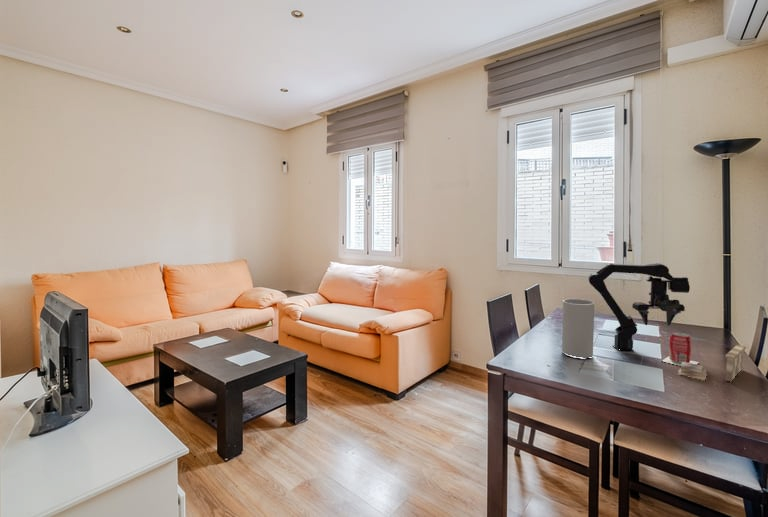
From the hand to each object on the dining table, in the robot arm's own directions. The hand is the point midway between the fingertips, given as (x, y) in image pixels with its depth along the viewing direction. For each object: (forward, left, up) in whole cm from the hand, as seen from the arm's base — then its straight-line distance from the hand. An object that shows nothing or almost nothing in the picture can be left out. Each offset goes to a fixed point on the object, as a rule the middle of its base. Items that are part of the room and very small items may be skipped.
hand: (657, 325), depth 160 cm
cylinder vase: (-36, -6, -13) cm, 39 cm away
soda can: (+3, -11, -13) cm, 17 cm away
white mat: (+3, -11, -13) cm, 18 cm away
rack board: (+14, -24, -13) cm, 31 cm away
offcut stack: (-1, -25, -13) cm, 29 cm away
